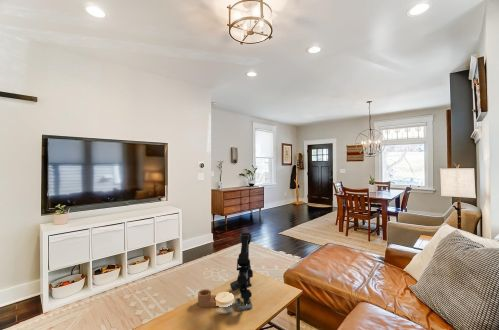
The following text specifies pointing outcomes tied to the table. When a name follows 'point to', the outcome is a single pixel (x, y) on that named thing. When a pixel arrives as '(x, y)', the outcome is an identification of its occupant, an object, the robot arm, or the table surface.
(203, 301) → the bracket
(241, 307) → the bearing block
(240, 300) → the brass spacer
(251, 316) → the table surface
